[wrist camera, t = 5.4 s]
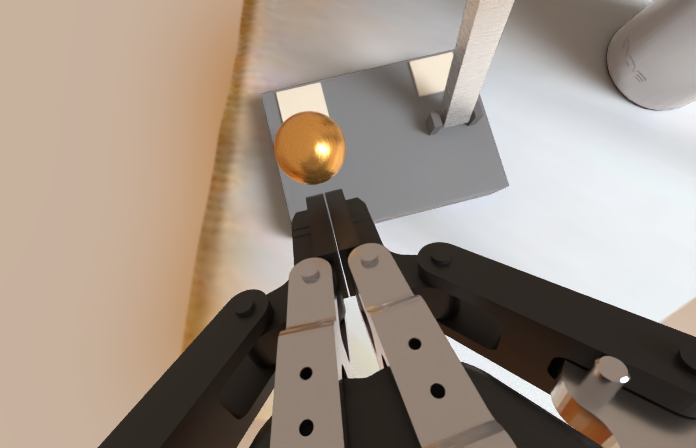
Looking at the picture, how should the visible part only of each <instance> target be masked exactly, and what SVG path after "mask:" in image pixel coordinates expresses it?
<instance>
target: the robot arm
mask: <svg viewBox="0 0 696 448" xmlns="http://www.w3.org/2000/svg"><path fill="white" fill-rule="evenodd" d="M607 65H608V69H609V73H610V76H611V78H612V80H613V82H614V84H615V85H616V86H617V87H618V89H619V90H620V91H621V92H622V93H623V94H624V95H625V96H626V97H627V98H628V99H630V100H631V101H633V102H635V103H636V104H638V105H640V106H643V107H646V108H649V109H654V110H672V109H676V108H680V107H682V106H684V105H686V104H689V103H691V102H693V101H695V100H696V0H653V1H652V2H651V3H650V4H648V5H647V6H646V7H645V8H644V9H642V10H641V11H640V12H639V13H638V14H637V15H635V16H634V17H633V18H632V19H631V20H629V21H628V22H627V23H626V24H625V25H623V26H622V27H621V28H620V29H619V30H618V31H617V32H616V33H615V35H614V36H613V37H612V39H611V42H610V44H609V47H608V52H607ZM325 197H326V201H327V205H328V209H329V213H330V217H331V222H332V225H331V222H330V218H329V214H328V210H327V206H326V203H325V199H324V195H323V193H322V194H317V195H313V196H309V197H306V204H307V210H304V211H300V212H296V213H295V215H294V217H293V219H292V221H291V224H292V238H293V254H294V267H293V269H292V270H291V272H290V274H289V280H288V281H287V282H286V283H285V284H284V285H282V286H281V287H279V288H278V289H276V290H274V291H272V292H270V293H269V294H267V295H266V294H265V293H264V292H262V291H260V290H254V289H253V290H246V291H244V292H241V293H239V294H237V295H236V296H234V297H233V298H232V299H231V300H230V301H229V302H228V303H227V304H226V305H225V306H224V307H223V309H222V310H221V311H220V312H219V313H218V314H217V315H216V316H215V317H214V319H213V320H212V321H211V322H210V323H209V324H208V325H207V326H206V327H205V329H204V330H203V331H202V332H201V333H200V334H199V335H198V336H197V338H196V339H195V340H194V341H193V342H192V343H191V344H190V345H189V346H188V348H187V349H186V350H185V351H184V352H183V353H182V354H181V355H180V356H179V358H178V359H177V360H176V361H175V362H174V363H173V364H172V365H171V367H170V368H169V369H168V370H167V371H166V372H165V373H164V374H163V375H162V377H161V378H160V379H159V380H158V381H157V382H156V383H155V384H154V385H153V387H152V388H151V389H150V390H149V391H148V392H147V393H146V394H145V396H144V397H143V398H142V399H141V400H140V401H139V402H138V404H136V406H135V407H134V408H133V409H132V410H131V411H130V412H129V413H128V415H127V416H126V417H125V418H124V419H123V420H122V421H121V422H120V423H119V425H118V426H117V427H116V428H115V429H114V430H113V431H112V432H111V434H110V435H109V436H108V437H107V438H106V439H105V440H104V441H103V442H102V444H101V445H100V446H99V447H98V448H237V446H238V444H239V443H240V441H241V439H242V438H243V436H244V435H245V433H246V432H247V430H248V428H249V427H250V425H251V424H252V422H253V421H254V419H255V417H256V416H257V414H258V413H259V411H260V410H261V408H262V406H263V405H264V403H265V402H266V400H267V398H268V397H269V395H270V394H271V392H272V390H273V389H274V400H273V413H272V416H271V417H270V418H269V419H268V421H267V422H266V423H265V424H264V426H263V427H262V428H261V429H260V431H259V432H258V434H257V435H256V437H255V439H254V440H253V442H252V444H251V445H250V447H249V448H696V337H694V336H692V335H689V334H686V333H683V332H681V331H678V330H676V329H673V328H671V327H668V326H665V325H663V324H660V323H657V322H655V321H652V320H649V319H647V318H644V317H642V316H639V315H636V314H634V313H631V312H628V311H626V310H623V309H620V308H618V307H615V306H613V305H610V304H607V303H605V302H602V301H599V300H597V299H594V298H591V297H589V296H586V295H584V294H581V293H578V292H576V291H573V290H570V289H568V288H565V287H562V286H560V285H557V284H555V283H552V282H549V281H547V280H544V279H541V278H539V277H536V276H533V275H531V274H528V273H526V272H523V271H520V270H518V269H515V268H512V267H510V266H507V265H505V264H502V263H499V262H497V261H494V260H491V259H489V258H486V257H483V256H481V255H478V254H476V253H473V252H470V251H468V250H465V249H462V248H460V247H457V246H454V245H452V244H449V243H443V242H436V243H431V244H428V245H426V246H424V247H423V248H422V249H421V250H420V251H419V253H418V255H400V254H396V253H393V252H391V251H389V250H388V249H387V248H386V247H384V245H383V244H382V241H381V239H380V237H379V234H378V232H377V230H376V227H375V225H374V222H373V220H372V218H371V215H370V213H369V211H368V208H367V206H366V204H365V202H363V201H362V200H361V199H359V198H358V197H356V198H352V199H348V200H345V197H344V194H343V191H342V188H341V189H337V190H333V191H329V192H325ZM332 226H333V229H332ZM333 230H334V233H333ZM334 234H335V237H334ZM335 238H336V242H337V246H338V250H339V254H340V258H341V262H342V266H343V270H344V273H345V277H346V281H347V285H348V289H349V293H350V297H351V296H355V295H356V298H357V302H358V305H359V310H360V314H361V317H362V320H363V322H364V325H365V328H366V331H367V334H368V336H369V339H370V342H371V345H372V348H373V350H374V353H375V356H376V359H377V362H378V365H379V368H380V371H378V372H376V373H375V374H373V375H371V376H369V377H367V378H354V373H353V368H352V360H351V352H350V344H349V336H348V328H347V320H346V316H345V312H346V310H345V305H344V300H343V299H344V298H348V297H349V296H348V292H347V288H346V284H345V279H344V275H343V271H342V267H341V263H340V258H339V254H338V250H337V246H336V242H335ZM444 334H445V335H447V336H448V337H450V338H452V339H454V340H455V341H457V342H459V343H461V344H462V345H464V346H466V347H468V348H469V349H471V350H473V351H475V352H476V353H478V354H480V355H482V356H483V357H485V358H487V359H489V360H490V361H492V362H494V363H496V364H497V365H499V366H501V367H503V368H504V369H506V370H508V371H510V372H511V373H513V374H515V375H517V376H518V377H520V378H522V379H524V380H525V381H527V382H529V383H531V384H532V385H534V386H536V387H538V388H539V389H541V390H543V391H545V392H546V393H548V394H550V395H551V398H552V402H553V404H554V406H555V408H556V410H557V412H558V413H559V414H560V416H561V417H562V418H563V419H564V420H565V421H566V422H567V423H568V424H569V425H568V424H566V423H565V422H563V421H562V420H560V419H559V418H557V417H555V416H554V415H552V414H551V413H549V412H548V411H546V410H544V409H543V408H541V407H540V406H538V405H537V404H535V403H534V402H532V401H530V400H529V399H527V398H526V397H524V396H523V395H521V394H519V393H518V392H516V391H515V390H513V389H512V388H510V387H508V386H507V385H505V384H504V383H502V382H501V381H499V380H498V379H496V378H494V377H493V376H491V375H490V374H488V373H486V372H485V371H483V370H481V369H479V368H477V367H475V366H472V365H469V364H467V363H464V362H460V360H459V359H458V357H457V355H456V354H455V352H454V350H453V349H452V347H451V345H450V343H449V342H448V340H447V338H446V337H445V335H444ZM571 426H572V427H571ZM574 428H575V429H574Z"/></svg>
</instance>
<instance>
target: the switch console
mask: <svg viewBox="0 0 696 448" xmlns="http://www.w3.org/2000/svg"><path fill="white" fill-rule="evenodd" d="M454 51H455V49H454V50H449V51H445V52H440V53H436V54H432V55H427V56H423V57H419V58H414V59H410V60H406V61H401V62H397V63H393V64H388V65H384V66H379V67H375V68H371V69H366V70H362V71H358V72H353V73H349V74H345V75H340V76H336V77H332V78H327V79H323V80H319V81H314V82H310V83H305V84H301V85H297V86H292V87H288V88H284V89H279V90H275V91H271V92H266V93H262V94H261V96H262V101H263V105H264V109H265V113H266V118H267V122H268V126H269V130H270V135H271V139H272V143H273V147H274V141H275V137H276V134H277V131H278V129H279V128H280V126H281V125H282V124H283V122H284V121H285V120H286V119H288V118H289V117H291V116H292V115H294V114H296V113H299V112H304V111H315V112H319V113H322V114H324V115H326V116H328V117H330V118H331V119H332V120H334V121H335V122H336V123H337V125H338V126H339V127H340V129H341V130H342V132H343V135H344V137H345V141H346V157H345V161H344V163H343V166H342V167H341V169H340V171H339V172H338V173H337V174H336V175H335V176H334V177H333V178H332V179H330V180H328V181H326V182H324V183H321V184H317V185H305V184H301V183H298V182H296V181H294V180H292V179H291V178H289V177H288V176H287V175H286V174H285V173H284V172H283V171H282V170H281V168H280V167H279V165H278V163H277V165H278V169H279V173H280V177H281V182H282V186H283V190H284V194H285V199H286V203H287V207H288V211H289V216H290V220H291V221H292V219H293V217H294V215H295V213H296V212H300V211H304V210H307V204H306V197H309V196H313V195H317V194H322V193H323V195H324V199H325V203H326V206H327V210H328V214H329V218H330V222H331V217H330V213H329V209H328V205H327V201H326V197H325V192H329V191H333V190H337V189H341V188H342V191H343V194H344V197H345V200H348V199H352V198H356V197H358V198H359V199H361V200H362V201H363V202H365V204H366V206H367V208H368V211H369V213H370V215H371V218H372V220H373V222H374V224H375V223H379V222H383V221H387V220H390V219H394V218H398V217H402V216H406V215H410V214H414V213H418V212H422V211H426V210H430V209H434V208H438V207H442V206H446V205H450V204H454V203H458V202H462V201H466V200H470V199H474V198H478V197H482V196H486V195H490V194H492V193H495V192H497V191H499V190H501V189H503V188H506V187H508V186H509V184H508V181H507V178H506V174H505V171H504V168H503V165H502V162H501V159H500V156H499V153H498V150H497V147H496V143H495V140H494V137H493V134H492V131H491V128H490V125H489V122H488V119H487V116H486V112H485V109H484V106H483V103H482V100H481V97H480V94H479V96H478V98H477V101H476V104H475V106H474V109H473V111H472V114H471V117H470V119H469V122H467V123H463V124H459V125H455V126H451V127H447V128H443V125H442V121H441V118H440V115H439V110H440V106H441V102H442V98H443V94H444V90H445V86H446V82H447V78H448V74H449V70H450V66H451V63H452V59H453V55H454ZM331 225H332V222H331ZM332 229H333V226H332ZM333 233H334V230H333Z"/></svg>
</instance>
